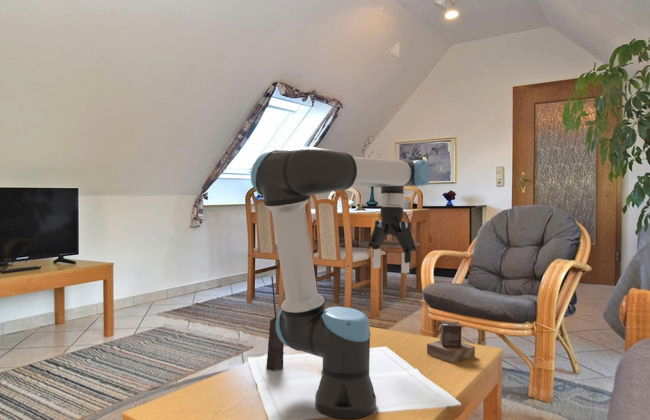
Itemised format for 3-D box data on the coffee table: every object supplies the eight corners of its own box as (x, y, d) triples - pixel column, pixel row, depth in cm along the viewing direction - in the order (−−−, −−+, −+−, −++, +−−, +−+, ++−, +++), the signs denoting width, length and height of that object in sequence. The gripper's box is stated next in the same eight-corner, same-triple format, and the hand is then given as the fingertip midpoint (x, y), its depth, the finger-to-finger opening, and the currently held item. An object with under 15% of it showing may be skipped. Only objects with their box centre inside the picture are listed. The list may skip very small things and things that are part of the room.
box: (458, 342, 155) (458, 321, 155) (461, 348, 149) (461, 325, 149) (440, 341, 156) (440, 320, 156) (442, 347, 150) (442, 324, 150)
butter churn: (299, 366, 140) (301, 276, 140) (280, 376, 132) (281, 280, 132) (277, 360, 145) (278, 273, 145) (256, 369, 137) (257, 276, 137)
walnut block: (453, 364, 145) (453, 352, 145) (426, 355, 154) (427, 343, 154) (474, 358, 151) (474, 346, 151) (448, 349, 160) (448, 338, 160)
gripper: (428, 207, 143) (426, 274, 143) (375, 206, 163) (373, 265, 163) (411, 206, 139) (409, 275, 138) (359, 206, 159) (357, 266, 159)
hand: (390, 270), depth 151 cm, fingers open, 13 cm apart
